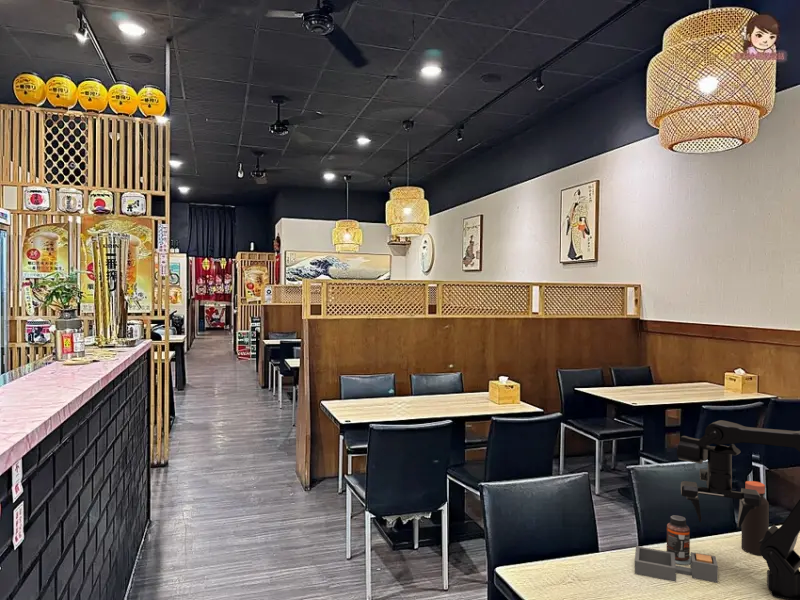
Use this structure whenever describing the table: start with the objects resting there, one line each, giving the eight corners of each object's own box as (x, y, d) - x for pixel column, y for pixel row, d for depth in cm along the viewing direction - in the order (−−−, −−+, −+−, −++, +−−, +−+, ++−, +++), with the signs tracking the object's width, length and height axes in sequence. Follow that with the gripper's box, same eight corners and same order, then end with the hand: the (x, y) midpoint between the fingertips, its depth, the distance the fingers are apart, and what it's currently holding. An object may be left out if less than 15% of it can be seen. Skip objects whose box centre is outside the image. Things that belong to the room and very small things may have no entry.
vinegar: (763, 558, 159) (764, 489, 159) (737, 550, 164) (738, 483, 164) (772, 551, 163) (772, 484, 163) (746, 543, 169) (746, 478, 169)
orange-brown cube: (710, 570, 150) (710, 555, 150) (712, 576, 147) (712, 561, 147) (695, 567, 152) (695, 553, 152) (696, 573, 148) (696, 558, 148)
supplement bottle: (688, 563, 155) (688, 523, 155) (665, 558, 158) (665, 518, 158) (691, 555, 160) (690, 516, 160) (668, 550, 163) (668, 512, 163)
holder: (715, 572, 151) (715, 556, 151) (719, 590, 142) (719, 572, 142) (635, 558, 159) (635, 542, 159) (634, 573, 150) (634, 557, 150)
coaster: (692, 555, 161) (692, 553, 161) (694, 567, 154) (694, 565, 154) (662, 549, 164) (662, 548, 164) (662, 561, 157) (662, 560, 157)
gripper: (754, 463, 155) (754, 519, 155) (680, 455, 162) (679, 508, 162) (761, 475, 145) (761, 535, 145) (681, 466, 152) (681, 522, 152)
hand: (719, 524), depth 151 cm, fingers open, 9 cm apart
